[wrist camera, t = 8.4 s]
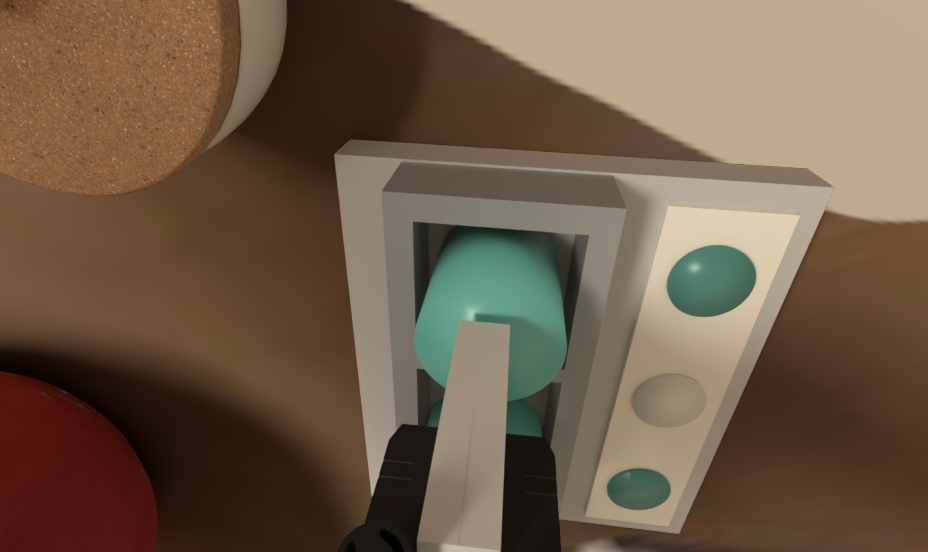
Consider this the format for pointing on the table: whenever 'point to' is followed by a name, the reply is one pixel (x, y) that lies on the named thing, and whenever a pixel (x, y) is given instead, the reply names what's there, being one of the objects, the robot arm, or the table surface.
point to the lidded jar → (128, 86)
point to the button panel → (587, 300)
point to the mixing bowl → (68, 476)
